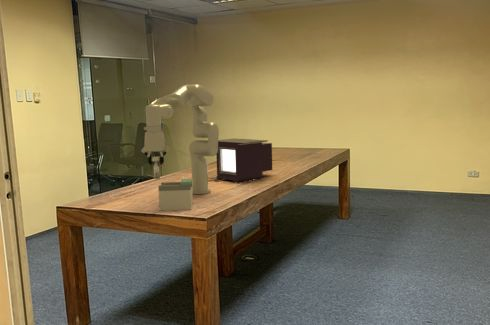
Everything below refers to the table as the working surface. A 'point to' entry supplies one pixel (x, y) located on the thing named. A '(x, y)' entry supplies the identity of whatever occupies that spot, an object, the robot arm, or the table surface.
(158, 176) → the pin
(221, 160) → the crt monitor
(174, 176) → the table surface
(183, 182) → the keeper
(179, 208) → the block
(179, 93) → the robot arm
